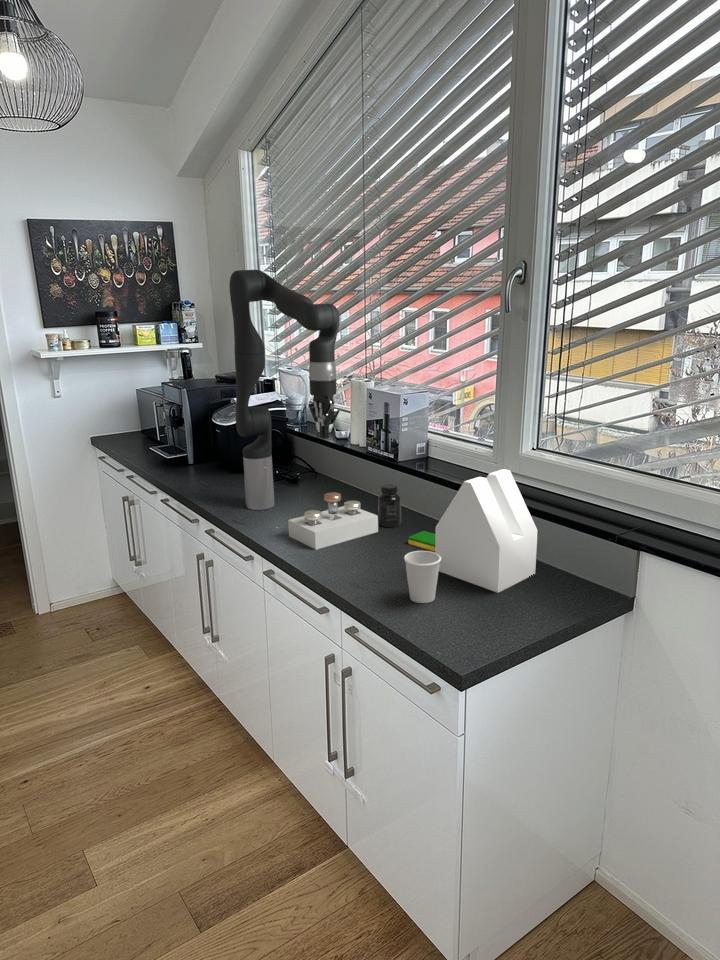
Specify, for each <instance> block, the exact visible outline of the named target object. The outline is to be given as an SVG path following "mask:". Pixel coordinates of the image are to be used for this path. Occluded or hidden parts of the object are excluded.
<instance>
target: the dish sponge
mask: <svg viewBox="0 0 720 960" xmlns="http://www.w3.org/2000/svg"><path fill="white" fill-rule="evenodd" d="M435 535H436V533H433V532H430V531H425V530H422V531H419V532H417V533H415V534H412V535H409V536H408V541H407V542H408V545H411V546H415V547H418V548H422V549H425V550H427V551H430V552H434V553H435Z"/></svg>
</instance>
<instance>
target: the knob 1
mask: <svg viewBox="0 0 720 960" xmlns="http://www.w3.org/2000/svg"><path fill="white" fill-rule="evenodd" d="M321 512H322V511H320V510H317V509H316V510H315V509H310V510H305V512H304V515H303V516H304V518H305V519H306V520H308V525H309V526H314V525H318V520H319V519H321Z"/></svg>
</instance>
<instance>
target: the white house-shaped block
mask: <svg viewBox="0 0 720 960" xmlns="http://www.w3.org/2000/svg"><path fill="white" fill-rule="evenodd" d="M532 517H533V516H532V515H531V513H530V511H529V508H528V507H527V505H526V503H525V500H524V497H523V496H522V493H521V491H520V489H519V487H518V485H517V482H516V481H515V478H514V477H513V474H512V471H511V470H510V469H509V470H508V469H504V468H503V469H502V468H501V469H499V470H497V471H492V472H490V473H489V474H487V476H486V477H482V476H478V477H474V478H471V479H468V480H464V481H463V483H462V484H461V486H460V488H459V489H458V491H457V493H456V494H455V496H454V497H453V499H452V500H451V502H450V503H449V505H448V507H447V508H446V510H445V511H444V513H443V514H442V516H441V518H440V519H439V521H438V522H437V524H436V526H435V534H436V535H435V552H434V553H437V554H438V555H439V556H440V557H441V561H440V565H439V573H443V574H446V575H448V576H450V577H453V578H456V579H459V580H461V581H465V582H467V583H470V584H472V585H476V586H478V587H481V588H484V589H486V590H489V591H492V592H494V593H497V594H498V593H501V592H503V591H505V590H506V589H508V588H511V587H512V586H514V585H516V584H518V583H520V582H522V581H524V580H526V579H528V578H530V577H532V576H534V575H536V569H537V568H536V565H537V549H538V548H537V547H538V528H537V526H536V524H535V522H534V519H533V518H532ZM533 574H534V575H533ZM531 575H532V576H531ZM529 576H530V577H529Z"/></svg>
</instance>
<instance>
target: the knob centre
mask: <svg viewBox="0 0 720 960" xmlns="http://www.w3.org/2000/svg"><path fill="white" fill-rule="evenodd" d="M323 500H324V501H325V502H327V510H328V514H337V513H338V507H339V504H338V502H341V500H342V494H341V493H339V492H333V491H332V492H326V493H324V494H323Z"/></svg>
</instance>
